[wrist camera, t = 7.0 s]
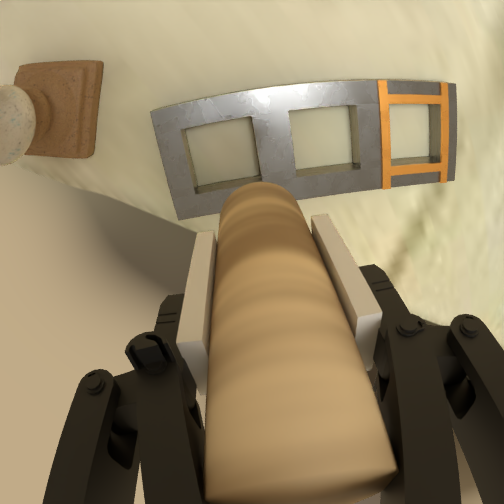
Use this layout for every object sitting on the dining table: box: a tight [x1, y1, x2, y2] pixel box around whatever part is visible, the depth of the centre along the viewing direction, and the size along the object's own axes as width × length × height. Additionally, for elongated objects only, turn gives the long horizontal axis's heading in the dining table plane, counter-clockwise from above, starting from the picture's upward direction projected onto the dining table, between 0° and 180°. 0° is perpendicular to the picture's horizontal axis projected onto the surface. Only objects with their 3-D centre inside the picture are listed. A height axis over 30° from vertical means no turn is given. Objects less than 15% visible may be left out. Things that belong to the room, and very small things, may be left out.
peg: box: [203, 182, 399, 504], centre depth 11 cm, size 4×4×14 cm
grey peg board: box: [150, 79, 457, 220], centre depth 31 cm, size 12×33×3 cm, turn 99°
